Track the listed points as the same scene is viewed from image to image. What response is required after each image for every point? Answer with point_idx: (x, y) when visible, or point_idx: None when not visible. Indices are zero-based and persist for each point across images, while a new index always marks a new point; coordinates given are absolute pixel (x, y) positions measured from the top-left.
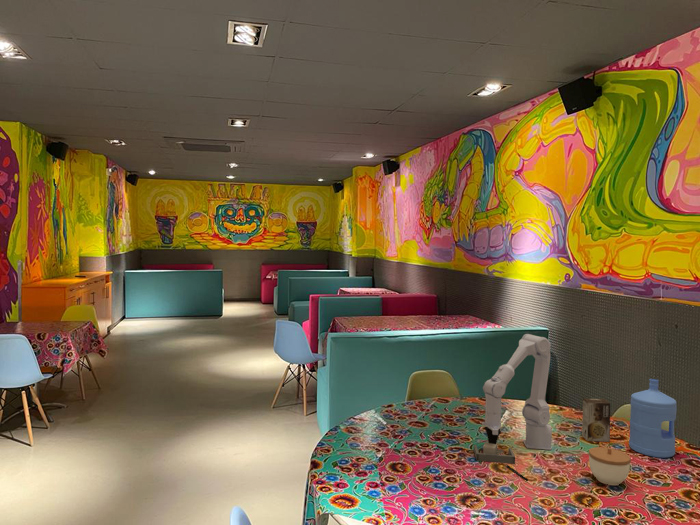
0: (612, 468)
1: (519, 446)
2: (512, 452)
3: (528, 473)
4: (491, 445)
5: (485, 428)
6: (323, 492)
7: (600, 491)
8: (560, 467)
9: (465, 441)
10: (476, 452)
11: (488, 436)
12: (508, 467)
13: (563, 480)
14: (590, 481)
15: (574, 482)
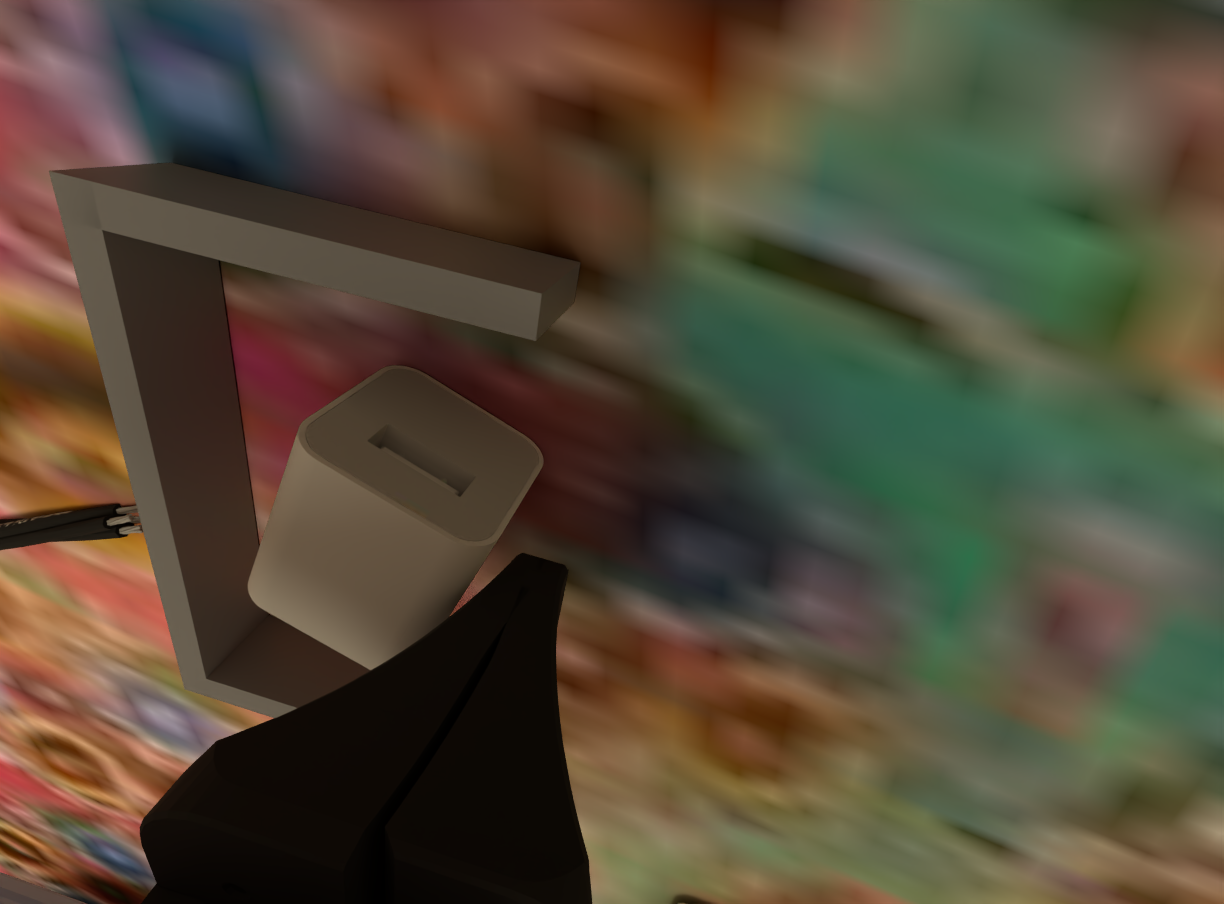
0: None
1: (745, 874)
2: None
3: (65, 628)
4: (309, 575)
5: (319, 864)
6: None
7: (11, 843)
8: None
9: (1195, 257)
10: (119, 191)
11: (355, 686)
12: (81, 516)
13: (62, 773)
14: (125, 877)
15: (64, 807)
